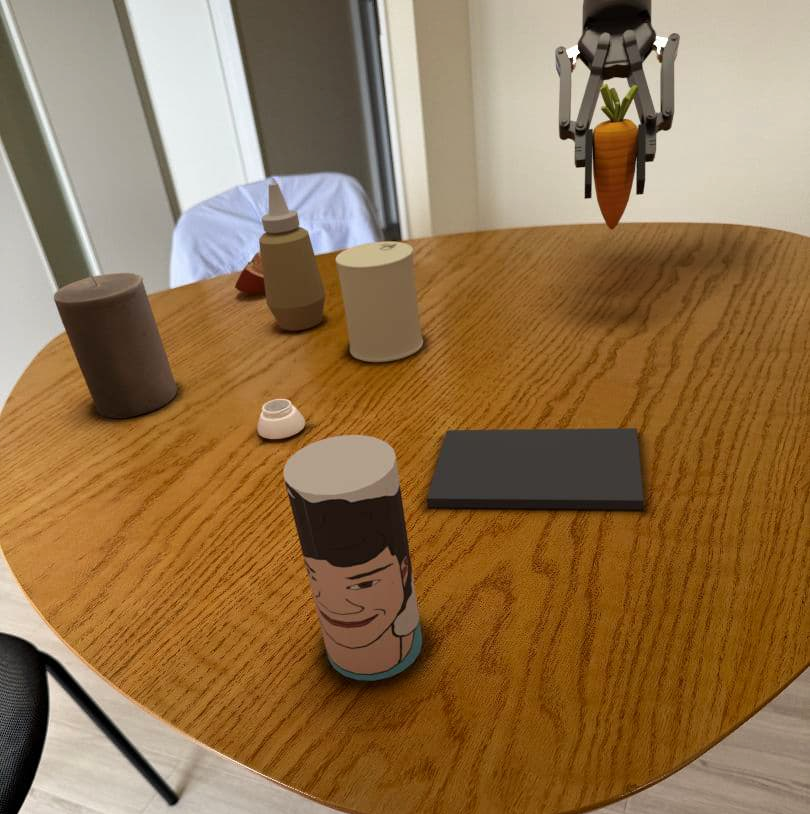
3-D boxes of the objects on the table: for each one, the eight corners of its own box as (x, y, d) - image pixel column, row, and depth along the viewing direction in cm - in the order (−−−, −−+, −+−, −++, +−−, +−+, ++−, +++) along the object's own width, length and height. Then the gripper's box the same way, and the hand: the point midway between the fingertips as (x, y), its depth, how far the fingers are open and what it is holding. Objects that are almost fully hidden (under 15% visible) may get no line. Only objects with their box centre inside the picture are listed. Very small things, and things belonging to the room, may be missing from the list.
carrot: (638, 222, 92) (645, 76, 83) (628, 235, 88) (636, 84, 80) (595, 222, 94) (599, 80, 85) (585, 235, 90) (587, 87, 82)
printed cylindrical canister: (310, 643, 56) (263, 464, 47) (386, 600, 59) (355, 423, 50) (361, 696, 51) (320, 509, 42) (441, 647, 54) (418, 461, 45)
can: (437, 337, 98) (428, 239, 91) (395, 367, 92) (382, 265, 85) (378, 328, 103) (365, 234, 96) (335, 356, 97) (318, 258, 90)
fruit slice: (246, 283, 125) (238, 252, 122) (287, 280, 124) (280, 248, 121) (231, 302, 118) (223, 269, 115) (274, 299, 117) (267, 265, 114)
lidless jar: (256, 425, 84) (262, 446, 80) (250, 400, 83) (255, 421, 79) (301, 415, 85) (309, 435, 81) (296, 390, 83) (304, 410, 79)
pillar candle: (109, 427, 88) (59, 297, 79) (87, 400, 95) (38, 277, 86) (190, 398, 92) (150, 271, 83) (162, 374, 99) (123, 254, 90)
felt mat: (636, 437, 73) (637, 427, 73) (643, 510, 64) (643, 500, 63) (447, 438, 77) (446, 429, 77) (427, 507, 68) (426, 498, 67)
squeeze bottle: (261, 327, 108) (228, 189, 98) (307, 308, 112) (281, 173, 101) (294, 340, 103) (263, 195, 92) (342, 319, 107) (318, 179, 96)
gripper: (695, 13, 90) (695, 202, 87) (538, 33, 94) (533, 214, 91) (705, -43, 83) (706, 161, 79) (534, -19, 87) (529, 176, 83)
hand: (614, 189), depth 85 cm, fingers closed on carrot, 5 cm apart
